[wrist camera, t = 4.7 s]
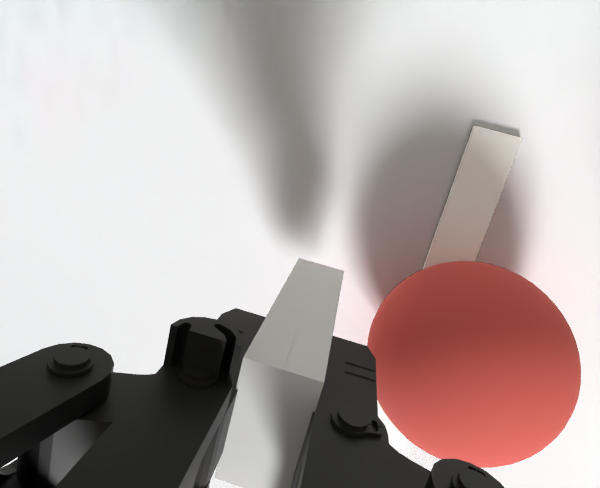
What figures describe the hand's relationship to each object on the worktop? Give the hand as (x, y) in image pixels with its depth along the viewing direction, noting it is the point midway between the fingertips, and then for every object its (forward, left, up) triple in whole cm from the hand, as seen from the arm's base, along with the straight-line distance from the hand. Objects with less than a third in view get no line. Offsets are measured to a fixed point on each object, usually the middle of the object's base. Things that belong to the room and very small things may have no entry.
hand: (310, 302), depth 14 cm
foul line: (+4, 0, -3) cm, 5 cm away
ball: (+5, 0, 0) cm, 5 cm away
